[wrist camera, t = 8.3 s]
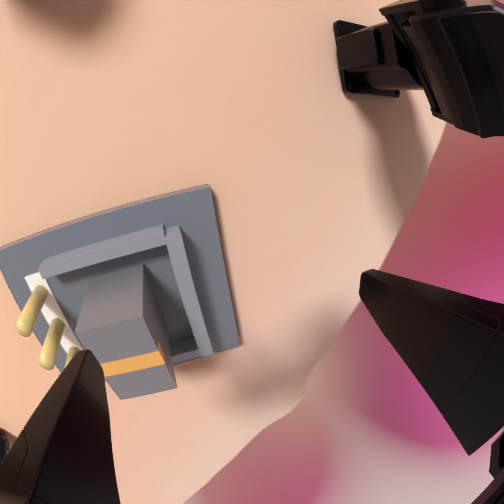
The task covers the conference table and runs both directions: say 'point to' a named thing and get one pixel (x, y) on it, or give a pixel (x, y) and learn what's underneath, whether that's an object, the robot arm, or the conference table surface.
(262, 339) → the conference table surface
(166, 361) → the plug
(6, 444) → the headphones
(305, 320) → the conference table surface
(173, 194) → the header socket
